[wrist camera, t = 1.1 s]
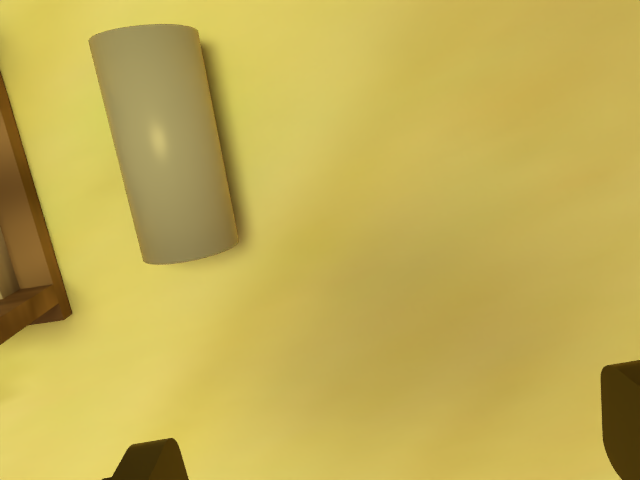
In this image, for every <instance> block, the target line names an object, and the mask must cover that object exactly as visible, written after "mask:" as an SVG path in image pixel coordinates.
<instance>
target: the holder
mask: <svg viewBox="0 0 640 480" xmlns="http://www.w3.org/2000/svg"><path fill="white" fill-rule="evenodd" d="M71 314H72V311H71V308H70V305H69V301H68V298H67V295H66V291H65V288H64V284H63V281H62V278H61V274H60V271H59V268H58V264H57V261H56V258H55V254H54V251H53V247H52V244H51V241H50V237H49V234H48V231H47V227H46V224H45V220H44V217H43V214H42V210H41V207H40V204H39V200H38V197H37V193H36V190H35V187H34V183H33V180H32V177H31V173H30V170H29V167H28V163H27V160H26V156H25V153H24V150H23V146H22V143H21V140H20V136H19V133H18V129H17V126H16V123H15V119H14V116H13V113H12V109H11V106H10V103H9V99H8V96H7V92H6V89H5V86H4V82H3V79H2V76H1V72H0V345H1V344H2V343H3V342H5V341H6V340H8V339H9V338H10V337H12V336H13V335H15V334H16V333H17V332H19V331H20V330H22V329H23V328H24V327H26V326H27V325H32V324H39V323H46V322H53V321H60V320H64V319H66V318H67V317H68V316H69V315H71Z"/></svg>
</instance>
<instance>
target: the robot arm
mask: <svg viewBox="0 0 640 480" xmlns="http://www.w3.org/2000/svg"><path fill="white" fill-rule="evenodd" d="M601 402H602V431H603V442H604V447H605V450H606V453H607V456H608V458H609V460H610V462H611V464H612V466H613V468H614V470H615V471H616V472H617V474H618V475H619V476H620V478H621V479H622V480H640V360H637V361H631V362H625V363H619V364H613V365H607V366H605V367H604V368H603V369H602V372H601ZM102 480H189V479H188V476H187V472H186V469H185V465H184V462H183V459H182V455H181V452H180V449H179V446H178V444H177V442H176V440H175V439H173V438H168V439H162V440H156V441H150V442H144V443H138V444H133V445H131V446H130V447H129V448H128V449H127V451H126V453H125V455H124V456H123V458H122V460H121V462H120V463H119V465H118V467H117V469H116V471H115V472H114V474H113V476H112V477H110V478H104V479H102Z"/></svg>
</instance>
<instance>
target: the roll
mask: <svg viewBox="0 0 640 480" xmlns="http://www.w3.org/2000/svg"><path fill="white" fill-rule="evenodd" d="M89 46H90V50H91V54H92V58H93V62H94V66H95V70H96V74H97V78H98V82H99V86H100V90H101V94H102V98H103V102H104V106H105V110H106V114H107V118H108V122H109V126H110V130H111V134H112V138H113V142H114V146H115V150H116V154H117V158H118V162H119V166H120V170H121V174H122V178H123V182H124V186H125V190H126V194H127V198H128V202H129V206H130V210H131V214H132V218H133V222H134V226H135V230H136V234H137V238H138V242H139V246H140V250H141V254H142V258H143V261H144V262H145V263H148V264H155V265H161V264H174V263H181V262H187V261H192V260H197V259H201V258H205V257H208V256H212V255H215V254H218V253H221V252H223V251H226V250H228V249H230V248H232V247H234V246H235V245H236V244H237V243H238V242H239V239H238V233H237V228H236V223H235V218H234V213H233V208H232V203H231V198H230V192H229V187H228V182H227V177H226V172H225V167H224V162H223V157H222V152H221V146H220V141H219V136H218V131H217V126H216V121H215V116H214V111H213V105H212V100H211V95H210V90H209V85H208V80H207V75H206V70H205V65H204V59H203V54H202V49H201V44H200V39H199V34H198V30H197V29H195V28H192V27H189V26H183V25H173V24H153V25H139V26H130V27H124V28H118V29H113V30H109V31H105V32H102V33H99V34H96V35H94V36H92V37H91V38H90V39H89Z"/></svg>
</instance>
